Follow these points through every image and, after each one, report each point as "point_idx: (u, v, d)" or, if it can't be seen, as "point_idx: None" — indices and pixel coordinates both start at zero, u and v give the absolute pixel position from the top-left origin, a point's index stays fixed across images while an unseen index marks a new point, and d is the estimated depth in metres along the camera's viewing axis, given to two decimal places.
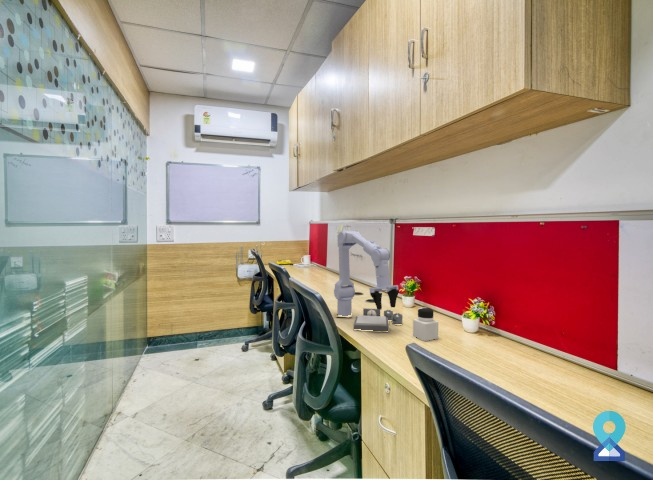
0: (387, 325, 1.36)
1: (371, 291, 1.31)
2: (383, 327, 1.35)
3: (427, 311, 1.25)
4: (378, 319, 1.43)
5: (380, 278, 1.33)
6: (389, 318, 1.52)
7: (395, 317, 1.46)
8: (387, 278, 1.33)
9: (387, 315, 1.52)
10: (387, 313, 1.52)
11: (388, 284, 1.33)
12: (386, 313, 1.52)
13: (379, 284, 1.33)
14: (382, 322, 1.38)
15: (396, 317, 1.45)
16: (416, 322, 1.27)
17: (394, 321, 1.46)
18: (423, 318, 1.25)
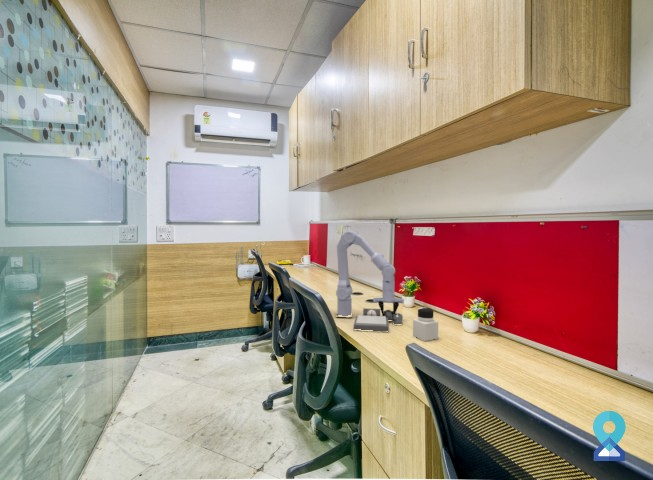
0: (387, 325, 1.36)
1: (373, 301, 1.55)
2: (383, 327, 1.35)
3: (427, 311, 1.25)
4: (378, 319, 1.43)
5: (383, 291, 1.53)
6: (389, 318, 1.52)
7: (395, 317, 1.46)
8: (388, 292, 1.51)
9: (387, 315, 1.52)
10: (387, 313, 1.52)
11: (389, 298, 1.51)
12: (386, 313, 1.52)
13: None
14: (382, 322, 1.38)
15: (396, 317, 1.45)
16: (416, 322, 1.27)
17: (394, 321, 1.46)
18: (423, 318, 1.25)
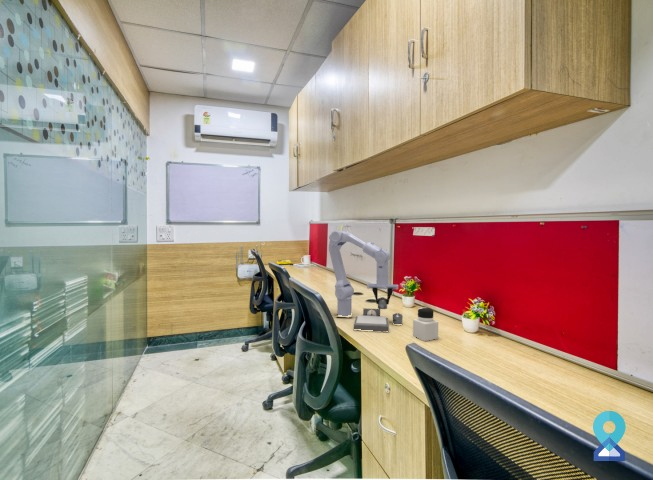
0: (387, 325, 1.36)
1: (367, 287, 1.51)
2: (383, 327, 1.35)
3: (427, 311, 1.25)
4: (378, 319, 1.43)
5: (377, 277, 1.49)
6: (383, 305, 1.48)
7: (395, 317, 1.46)
8: (382, 278, 1.47)
9: (381, 303, 1.48)
10: (381, 300, 1.48)
11: (383, 283, 1.47)
12: (380, 300, 1.49)
13: None
14: (382, 322, 1.38)
15: (396, 317, 1.45)
16: (416, 322, 1.27)
17: (394, 321, 1.46)
18: (423, 318, 1.25)
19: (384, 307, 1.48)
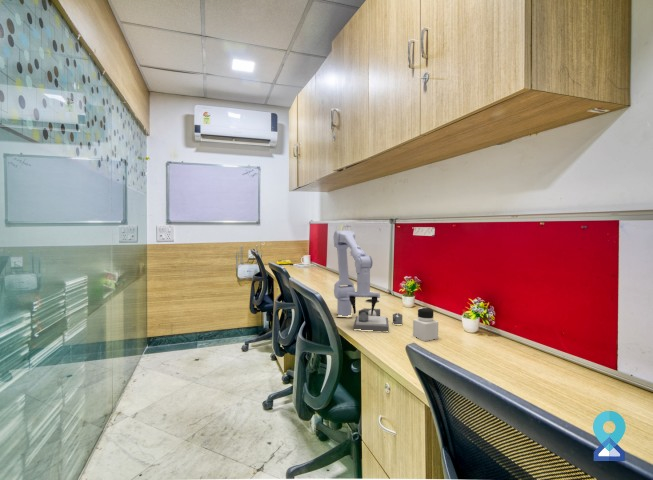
0: (387, 325, 1.36)
1: (347, 295, 1.41)
2: (383, 327, 1.35)
3: (427, 311, 1.25)
4: (378, 319, 1.43)
5: (357, 285, 1.39)
6: (362, 318, 1.39)
7: (395, 317, 1.46)
8: (363, 286, 1.37)
9: (360, 315, 1.39)
10: (360, 313, 1.39)
11: (363, 292, 1.37)
12: (360, 313, 1.40)
13: (357, 290, 1.40)
14: (382, 322, 1.38)
15: (396, 317, 1.45)
16: (416, 322, 1.27)
17: (394, 321, 1.46)
18: (423, 318, 1.25)
19: (364, 320, 1.39)
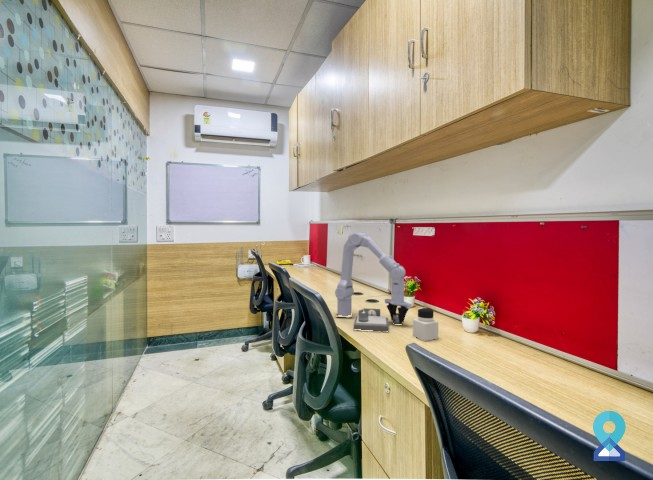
0: (387, 325, 1.36)
1: None
2: (383, 327, 1.35)
3: (427, 311, 1.25)
4: (378, 319, 1.43)
5: None
6: (363, 318, 1.39)
7: (395, 317, 1.46)
8: (393, 295, 1.45)
9: (360, 315, 1.39)
10: (360, 313, 1.39)
11: (393, 300, 1.45)
12: (360, 313, 1.40)
13: None
14: (382, 322, 1.38)
15: (396, 317, 1.45)
16: (416, 322, 1.27)
17: (394, 321, 1.46)
18: (423, 318, 1.25)
19: (364, 320, 1.39)
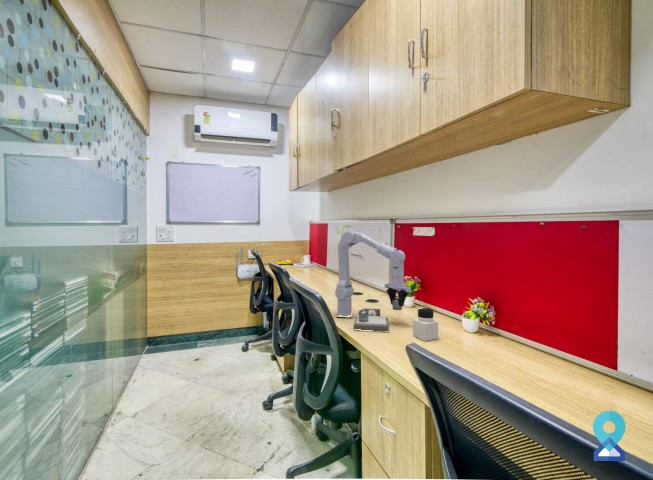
0: (387, 325, 1.36)
1: None
2: (383, 327, 1.35)
3: (427, 311, 1.25)
4: (378, 319, 1.43)
5: None
6: (363, 318, 1.39)
7: (395, 302, 1.45)
8: (393, 279, 1.45)
9: (360, 315, 1.39)
10: (360, 313, 1.39)
11: (393, 284, 1.45)
12: (360, 313, 1.40)
13: None
14: (382, 322, 1.38)
15: (396, 302, 1.45)
16: (416, 322, 1.27)
17: (394, 306, 1.46)
18: (423, 318, 1.25)
19: (364, 320, 1.39)
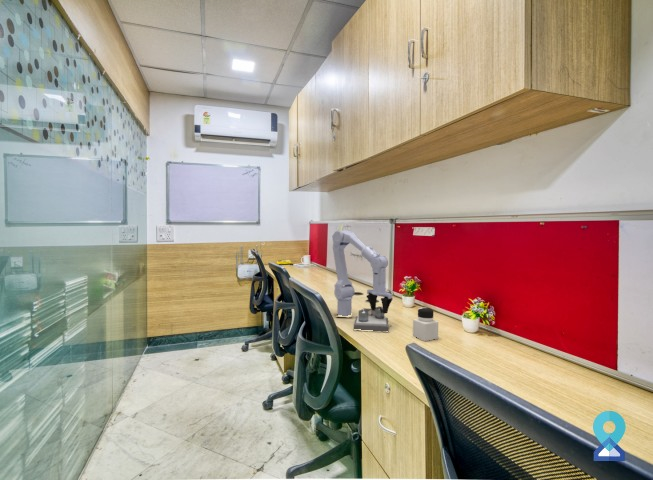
0: (387, 325, 1.36)
1: None
2: (383, 327, 1.35)
3: (427, 311, 1.25)
4: (378, 319, 1.43)
5: None
6: (362, 318, 1.39)
7: (376, 310, 1.45)
8: (374, 285, 1.44)
9: (360, 315, 1.39)
10: (360, 313, 1.39)
11: (375, 290, 1.44)
12: (360, 313, 1.40)
13: None
14: (382, 322, 1.38)
15: (377, 310, 1.44)
16: (416, 322, 1.27)
17: (376, 314, 1.45)
18: (423, 318, 1.25)
19: (364, 320, 1.39)
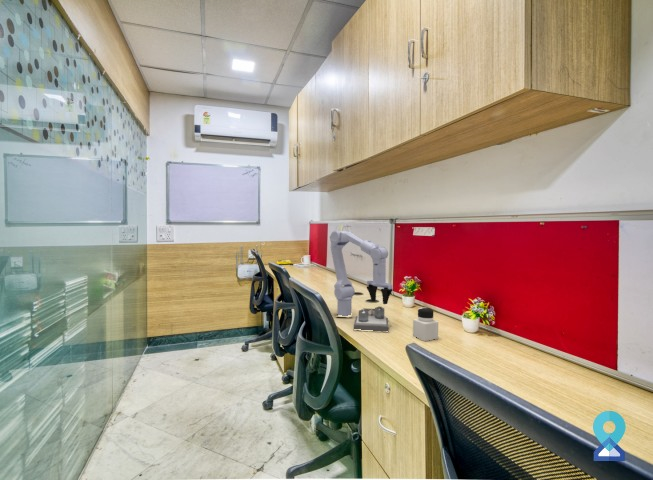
0: (387, 325, 1.36)
1: None
2: (383, 327, 1.35)
3: (427, 311, 1.25)
4: (378, 319, 1.43)
5: None
6: (362, 318, 1.39)
7: (376, 310, 1.45)
8: (374, 276, 1.44)
9: (360, 315, 1.39)
10: (360, 313, 1.39)
11: (375, 281, 1.44)
12: (360, 313, 1.40)
13: None
14: (382, 322, 1.38)
15: (377, 310, 1.44)
16: (416, 322, 1.27)
17: (376, 314, 1.45)
18: (423, 318, 1.25)
19: (364, 320, 1.39)
